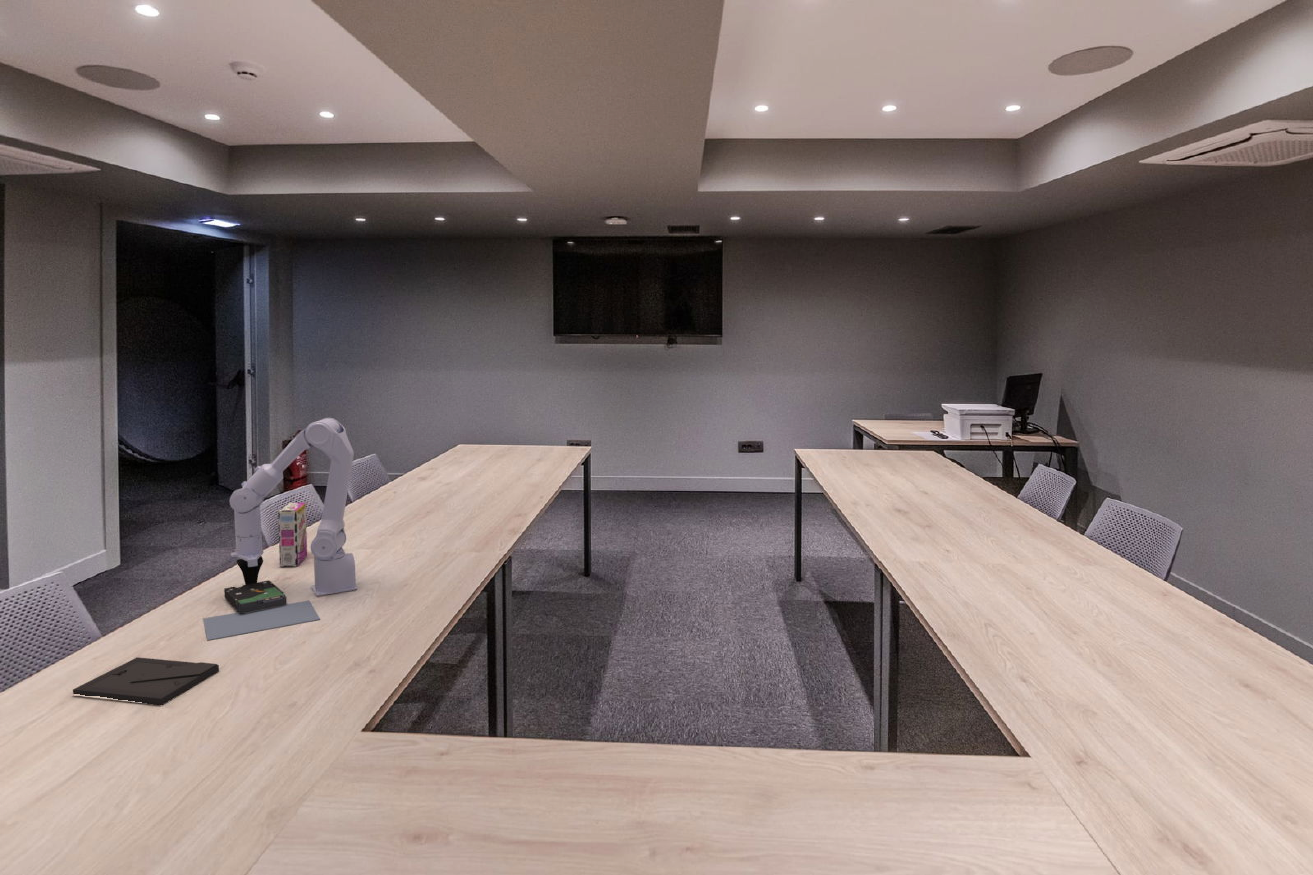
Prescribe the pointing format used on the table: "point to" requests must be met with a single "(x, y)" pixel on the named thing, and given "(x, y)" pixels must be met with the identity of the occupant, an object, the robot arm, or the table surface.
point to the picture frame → (148, 680)
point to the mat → (259, 620)
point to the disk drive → (255, 597)
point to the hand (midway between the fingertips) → (251, 586)
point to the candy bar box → (292, 534)
